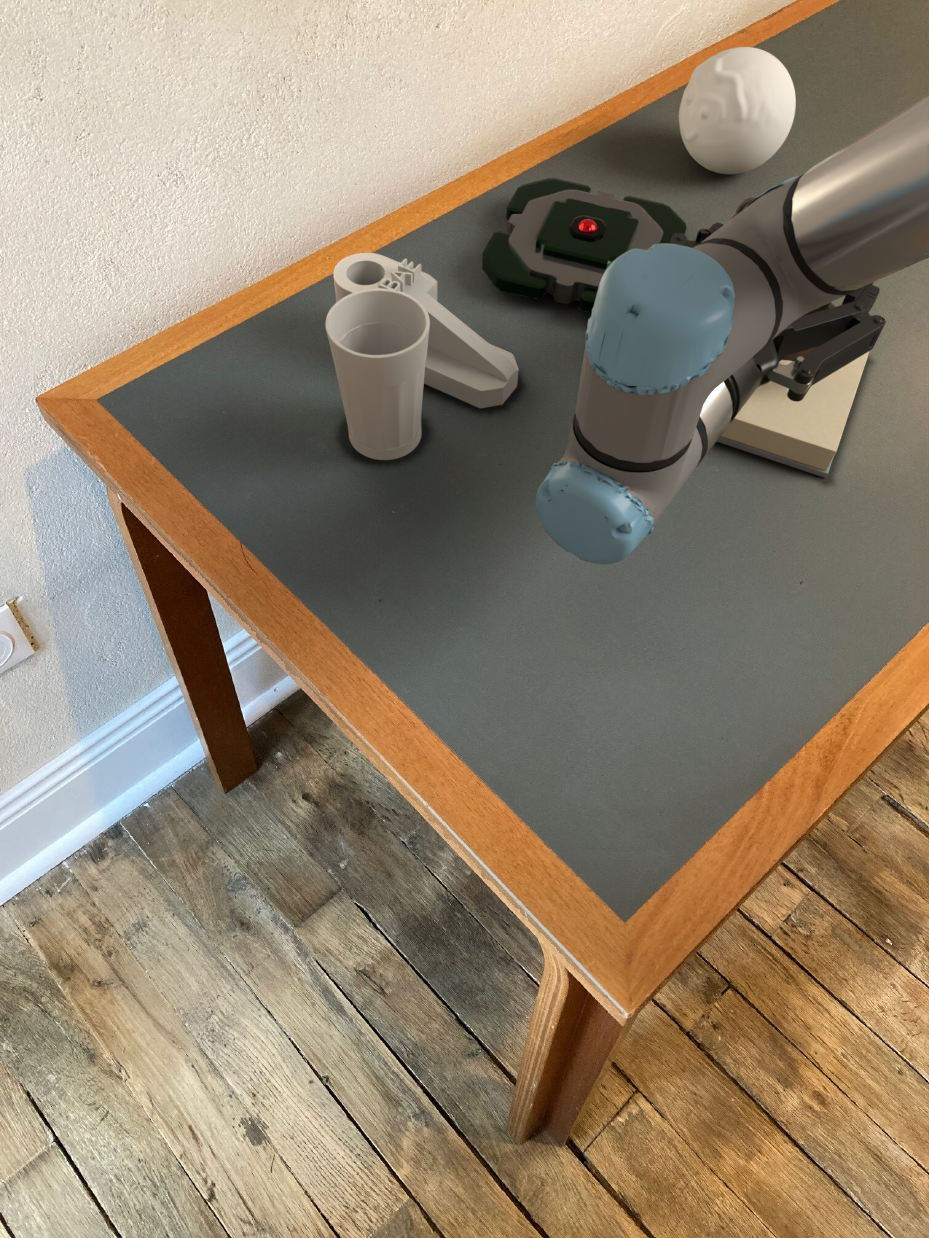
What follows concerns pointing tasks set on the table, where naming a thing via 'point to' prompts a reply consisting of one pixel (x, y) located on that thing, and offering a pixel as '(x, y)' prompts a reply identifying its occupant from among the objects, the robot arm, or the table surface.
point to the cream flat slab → (797, 421)
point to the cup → (380, 368)
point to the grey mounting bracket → (437, 332)
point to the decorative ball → (737, 110)
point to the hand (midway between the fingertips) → (810, 240)
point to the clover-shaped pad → (570, 239)
